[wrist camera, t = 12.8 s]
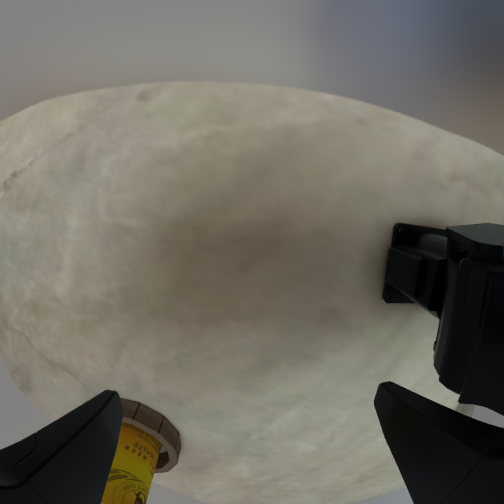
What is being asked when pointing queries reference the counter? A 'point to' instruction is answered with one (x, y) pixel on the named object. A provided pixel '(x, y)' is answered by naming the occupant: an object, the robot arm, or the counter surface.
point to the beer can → (132, 467)
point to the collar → (154, 431)
